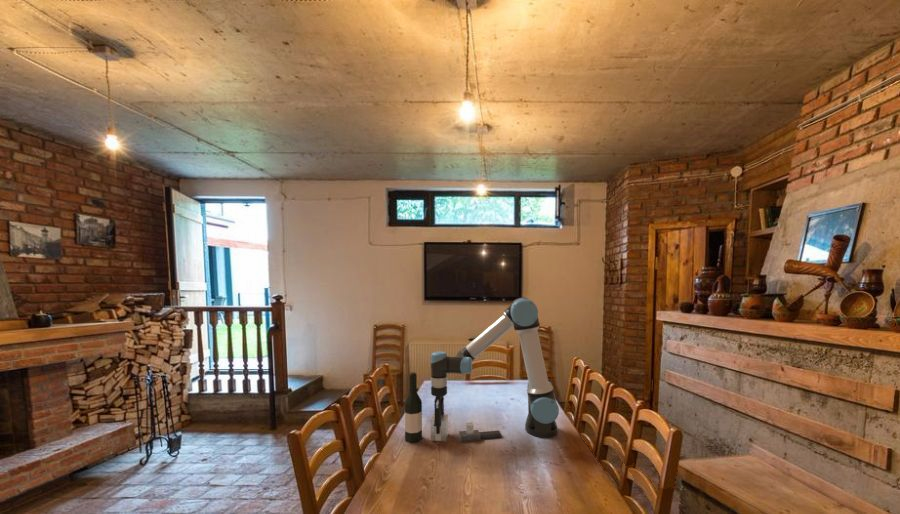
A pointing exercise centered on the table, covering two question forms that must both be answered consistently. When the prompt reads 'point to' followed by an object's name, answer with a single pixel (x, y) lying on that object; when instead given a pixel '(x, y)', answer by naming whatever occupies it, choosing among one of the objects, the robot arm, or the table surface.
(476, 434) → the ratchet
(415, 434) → the wine bottle
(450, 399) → the table surface
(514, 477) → the table surface
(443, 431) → the grey rectangular block
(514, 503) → the table surface
